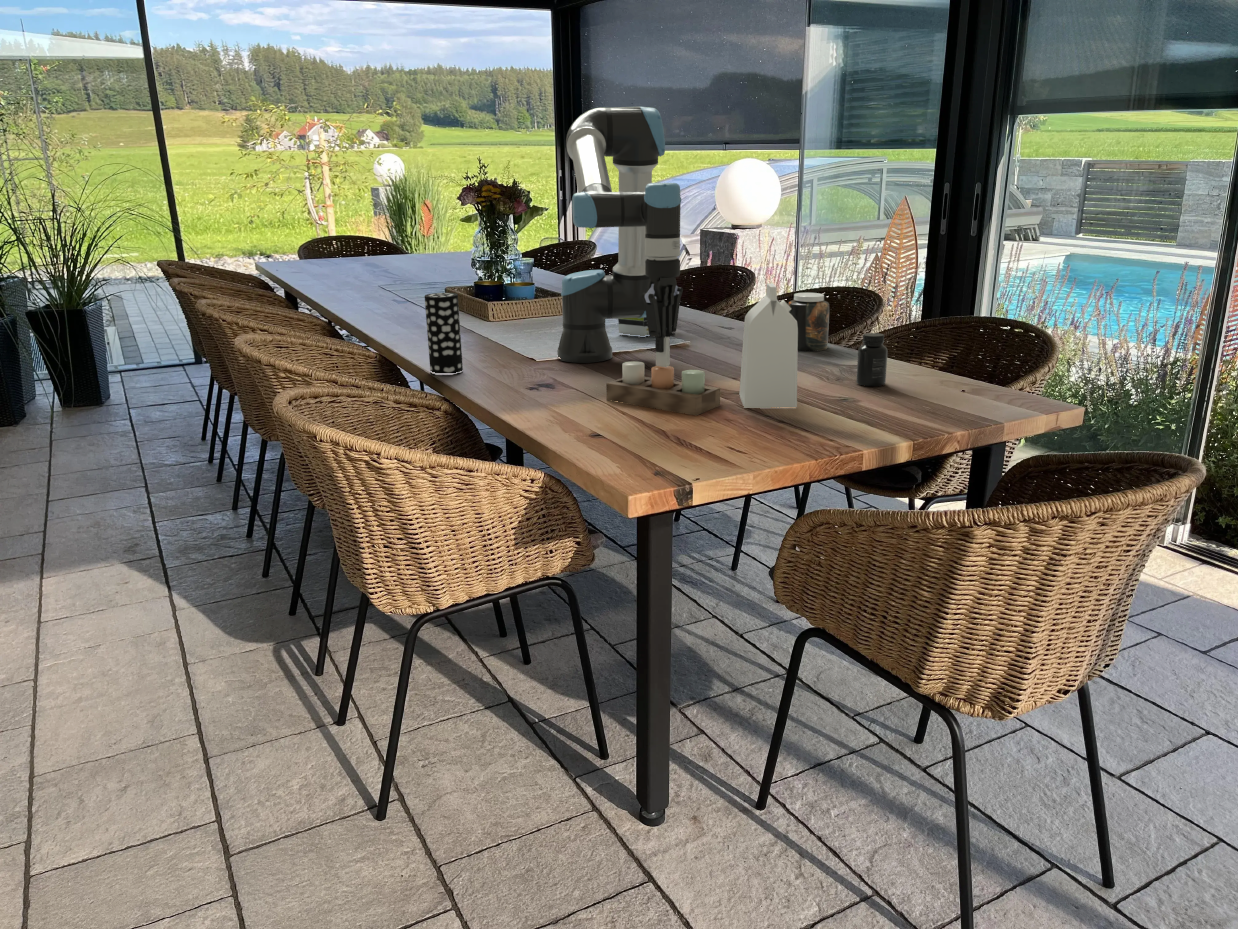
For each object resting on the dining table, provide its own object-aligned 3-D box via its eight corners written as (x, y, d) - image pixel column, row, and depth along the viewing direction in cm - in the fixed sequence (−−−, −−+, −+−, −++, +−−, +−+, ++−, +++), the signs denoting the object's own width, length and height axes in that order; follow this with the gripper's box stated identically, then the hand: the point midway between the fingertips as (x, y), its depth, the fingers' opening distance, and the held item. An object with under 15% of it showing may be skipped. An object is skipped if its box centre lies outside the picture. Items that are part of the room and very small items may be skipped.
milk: (739, 395, 218) (742, 281, 210) (789, 394, 218) (794, 281, 210) (744, 408, 207) (747, 289, 199) (796, 408, 207) (802, 288, 198)
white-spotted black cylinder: (469, 370, 247) (464, 293, 241) (451, 377, 240) (445, 298, 233) (442, 367, 250) (437, 292, 244) (424, 374, 243) (417, 296, 237)
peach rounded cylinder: (647, 390, 211) (647, 368, 210) (659, 386, 215) (659, 364, 213) (665, 393, 208) (665, 371, 207) (678, 389, 212) (678, 367, 211)
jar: (781, 350, 266) (783, 296, 261) (790, 342, 276) (792, 290, 272) (823, 352, 262) (826, 298, 257) (830, 344, 272) (833, 292, 267)
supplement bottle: (886, 381, 229) (890, 332, 225) (884, 388, 222) (888, 337, 219) (857, 380, 231) (860, 331, 227) (854, 386, 225) (857, 336, 221)
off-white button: (618, 386, 216) (617, 364, 214) (630, 381, 219) (630, 360, 218) (636, 388, 213) (636, 367, 211) (648, 384, 217) (648, 363, 215)
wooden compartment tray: (606, 400, 215) (606, 383, 214) (632, 391, 223) (631, 374, 222) (696, 415, 202) (696, 397, 201) (720, 405, 210) (720, 387, 208)
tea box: (644, 327, 302) (644, 281, 298) (671, 330, 297) (671, 283, 292) (617, 335, 291) (616, 287, 286) (644, 338, 285) (643, 289, 281)
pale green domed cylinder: (677, 395, 207) (677, 373, 205) (689, 390, 210) (689, 368, 209) (696, 398, 204) (697, 375, 202) (708, 393, 208) (709, 371, 206)
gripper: (660, 261, 195) (660, 373, 203) (693, 255, 205) (692, 362, 213) (630, 259, 200) (632, 369, 207) (664, 254, 209) (664, 358, 217)
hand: (662, 365), depth 210 cm, fingers closed
